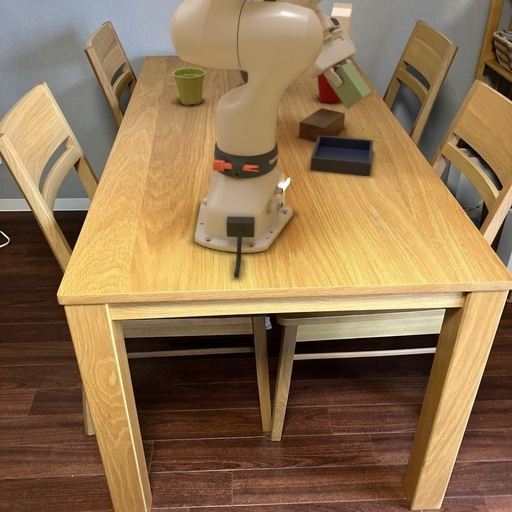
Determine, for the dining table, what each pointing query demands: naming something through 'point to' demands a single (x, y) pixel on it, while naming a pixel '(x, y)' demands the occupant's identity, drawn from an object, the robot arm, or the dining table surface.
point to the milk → (343, 15)
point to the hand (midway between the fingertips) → (346, 81)
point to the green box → (350, 85)
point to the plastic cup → (327, 89)
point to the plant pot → (189, 84)
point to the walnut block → (321, 124)
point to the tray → (342, 155)
